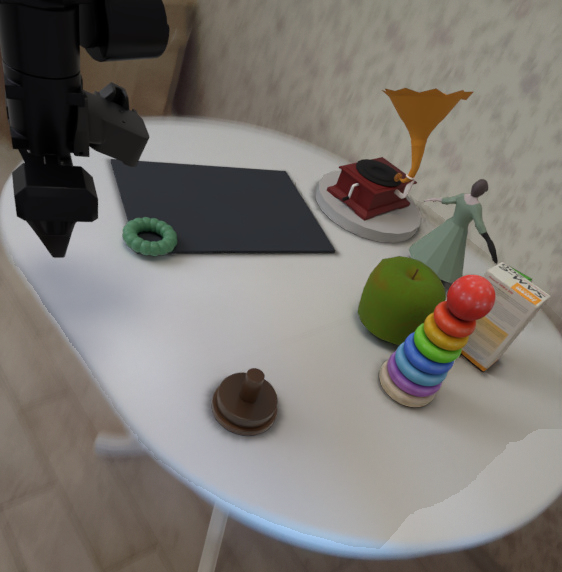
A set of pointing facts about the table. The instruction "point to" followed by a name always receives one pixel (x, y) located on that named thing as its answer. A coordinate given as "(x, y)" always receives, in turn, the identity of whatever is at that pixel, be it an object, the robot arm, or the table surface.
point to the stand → (245, 403)
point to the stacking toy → (436, 343)
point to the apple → (399, 298)
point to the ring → (146, 246)
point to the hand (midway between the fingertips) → (54, 227)
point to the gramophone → (386, 174)
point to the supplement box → (503, 315)
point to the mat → (221, 208)
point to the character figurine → (453, 235)
